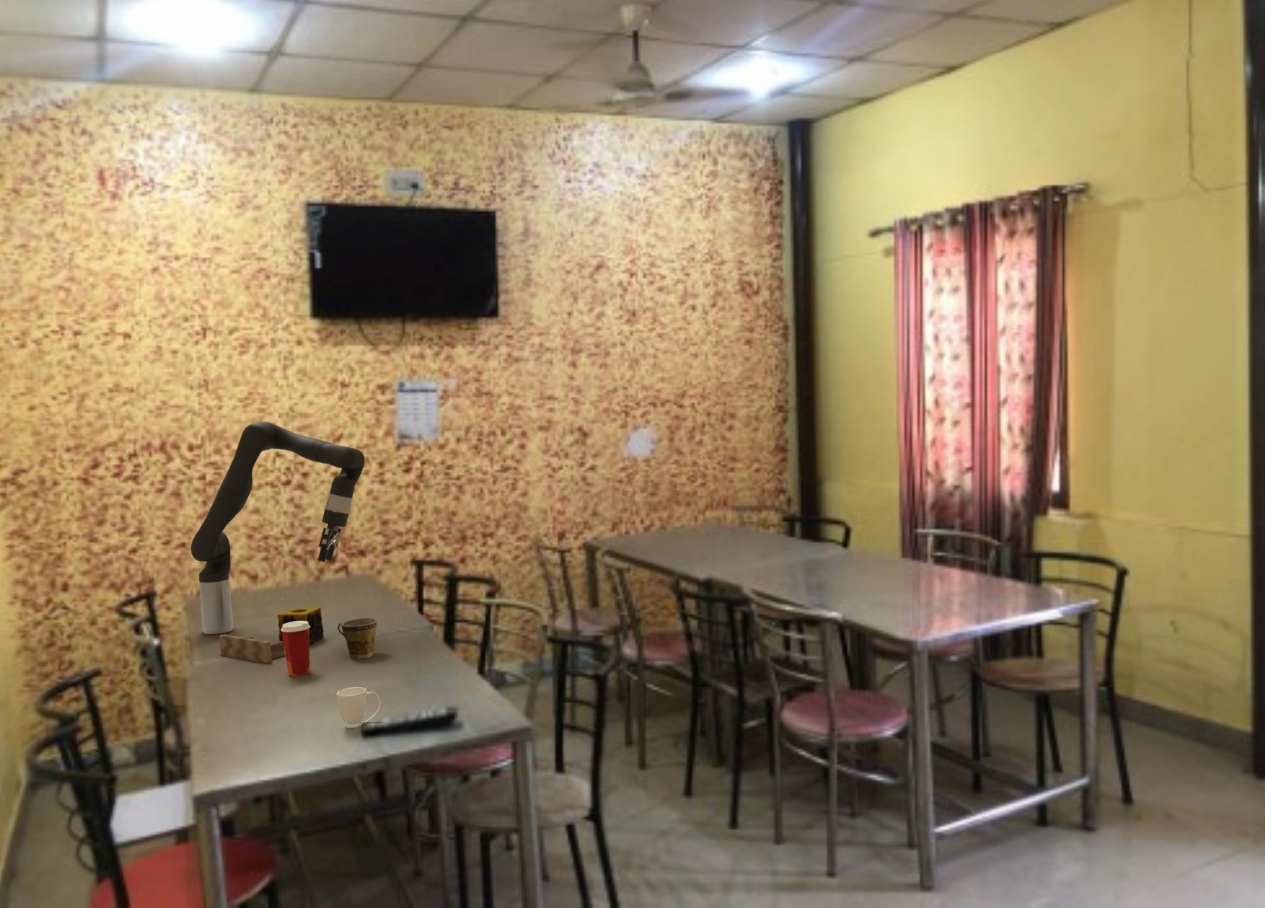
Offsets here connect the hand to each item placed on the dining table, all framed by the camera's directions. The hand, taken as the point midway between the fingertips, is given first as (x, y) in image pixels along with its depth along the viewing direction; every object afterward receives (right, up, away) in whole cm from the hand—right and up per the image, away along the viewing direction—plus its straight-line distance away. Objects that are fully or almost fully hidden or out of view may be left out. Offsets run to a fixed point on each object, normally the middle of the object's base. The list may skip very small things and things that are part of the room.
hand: (324, 560), depth 324 cm
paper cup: (+4, -28, -37) cm, 46 cm away
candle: (-7, -26, -1) cm, 26 cm away
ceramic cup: (+16, -26, -21) cm, 37 cm away
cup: (+33, -30, -83) cm, 94 cm away
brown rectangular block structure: (-16, -27, -14) cm, 34 cm away
